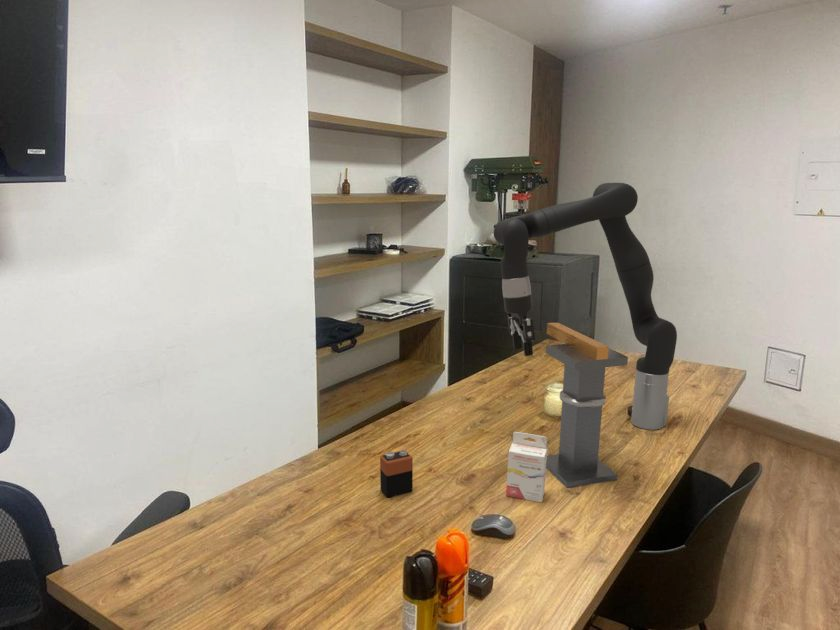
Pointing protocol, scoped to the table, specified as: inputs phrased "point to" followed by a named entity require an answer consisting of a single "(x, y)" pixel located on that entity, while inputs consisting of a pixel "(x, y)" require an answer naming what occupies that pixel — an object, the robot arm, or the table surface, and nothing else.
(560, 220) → the robot arm
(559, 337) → the bar
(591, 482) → the stand
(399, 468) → the battery
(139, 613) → the table surface
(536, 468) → the ink cartridge box
